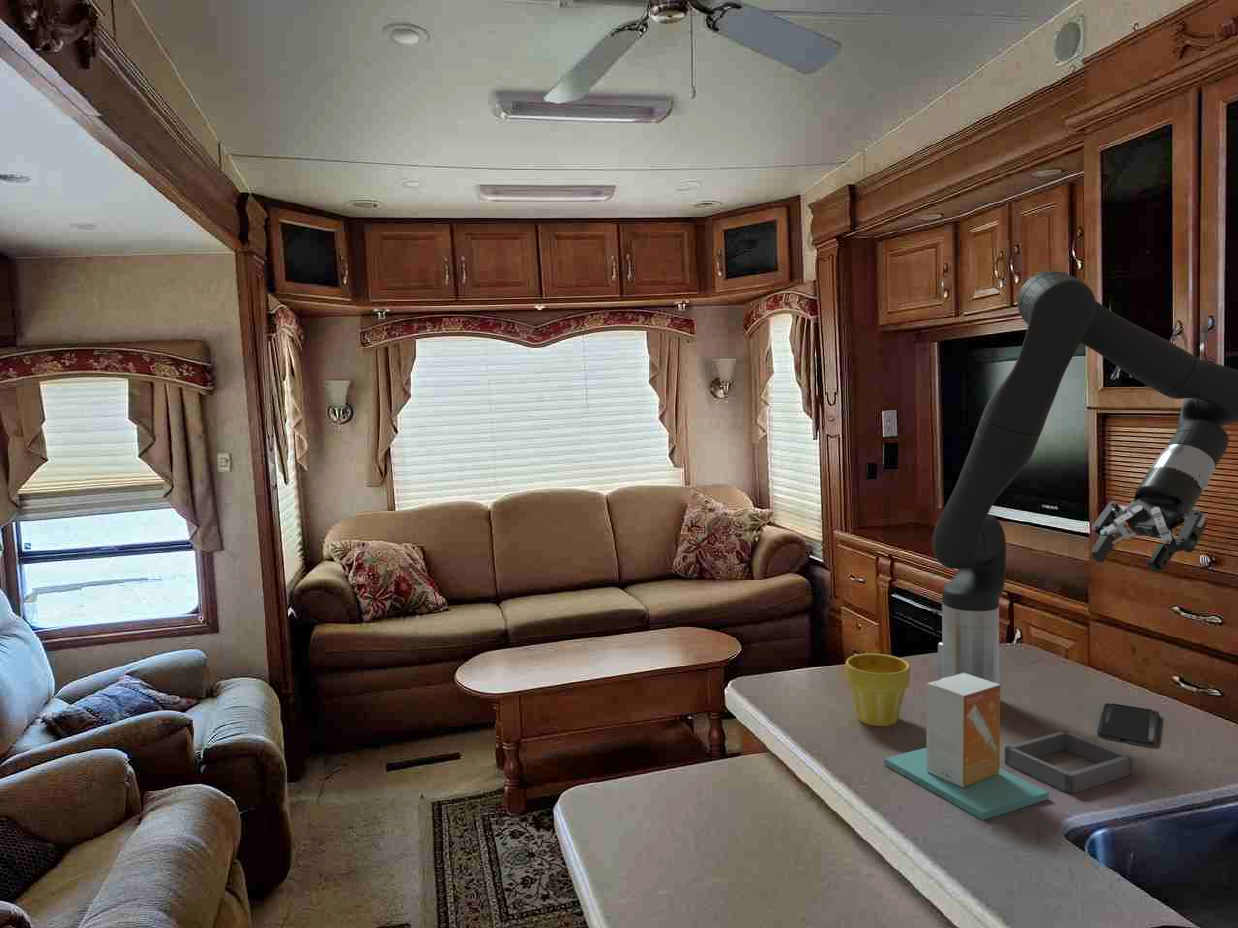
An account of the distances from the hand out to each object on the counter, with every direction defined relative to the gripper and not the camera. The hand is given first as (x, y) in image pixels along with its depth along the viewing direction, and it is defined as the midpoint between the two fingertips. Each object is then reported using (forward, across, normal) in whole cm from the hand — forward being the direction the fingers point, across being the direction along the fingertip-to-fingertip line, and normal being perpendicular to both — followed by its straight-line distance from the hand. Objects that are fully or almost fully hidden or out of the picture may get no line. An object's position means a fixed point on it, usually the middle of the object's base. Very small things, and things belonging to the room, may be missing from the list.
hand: (1123, 563), depth 120 cm
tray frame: (+28, 0, +12) cm, 31 cm away
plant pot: (+36, -27, +4) cm, 46 cm away
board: (+40, -4, +1) cm, 40 cm away
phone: (+13, -6, +28) cm, 32 cm away
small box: (+39, -4, 0) cm, 39 cm away
